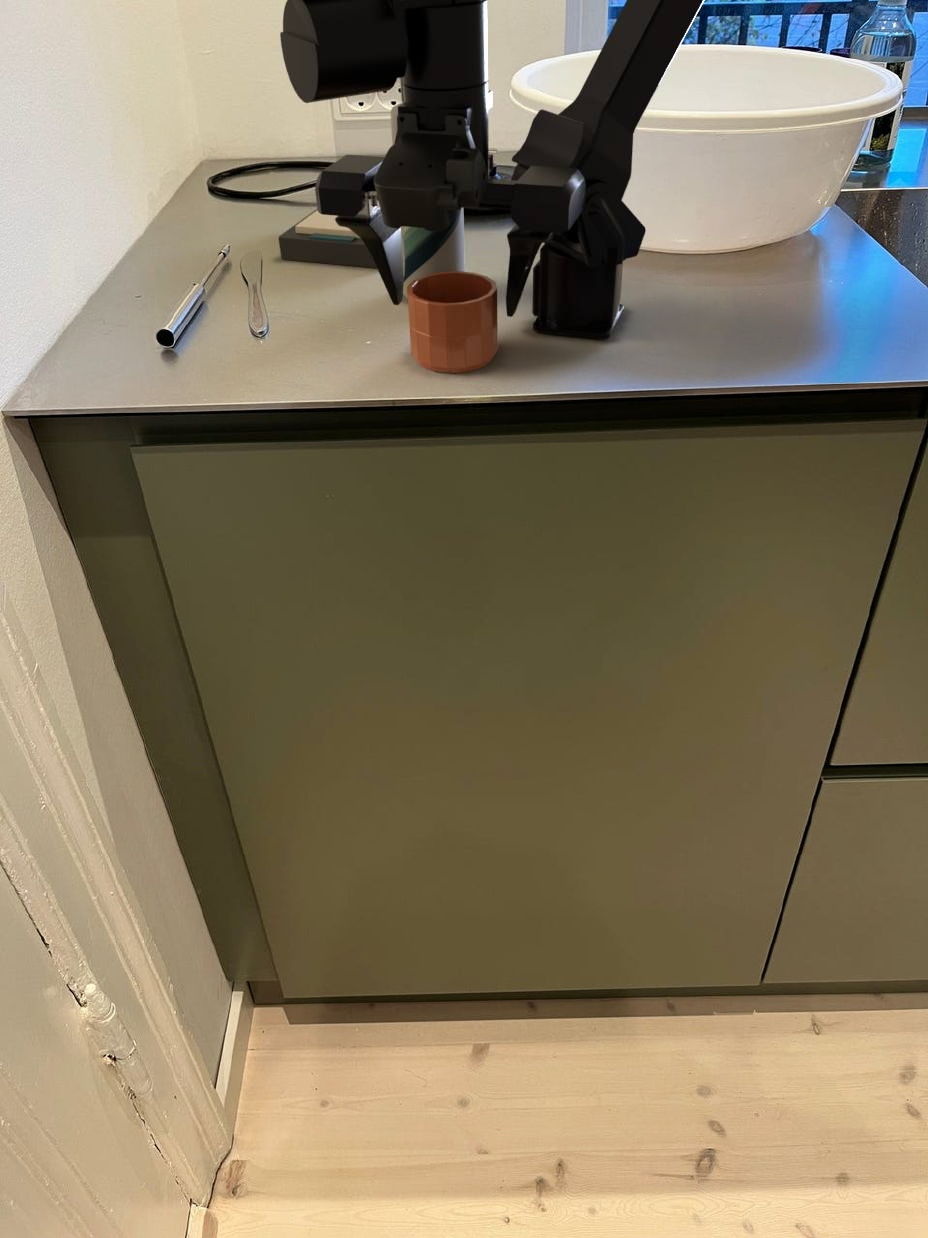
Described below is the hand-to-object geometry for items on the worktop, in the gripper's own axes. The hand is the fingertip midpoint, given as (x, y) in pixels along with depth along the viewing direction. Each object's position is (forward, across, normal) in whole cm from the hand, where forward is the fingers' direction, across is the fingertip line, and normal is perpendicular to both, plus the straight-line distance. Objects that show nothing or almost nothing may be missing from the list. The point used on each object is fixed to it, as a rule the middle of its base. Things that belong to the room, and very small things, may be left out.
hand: (453, 308), depth 75 cm
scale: (+4, -18, +22) cm, 29 cm away
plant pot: (+4, 0, 0) cm, 4 cm away
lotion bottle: (+4, -6, +12) cm, 14 cm away
